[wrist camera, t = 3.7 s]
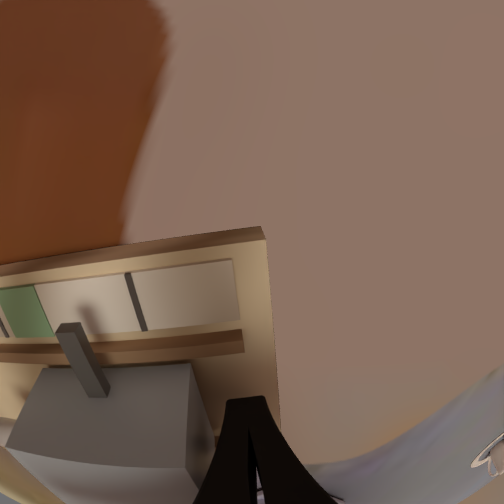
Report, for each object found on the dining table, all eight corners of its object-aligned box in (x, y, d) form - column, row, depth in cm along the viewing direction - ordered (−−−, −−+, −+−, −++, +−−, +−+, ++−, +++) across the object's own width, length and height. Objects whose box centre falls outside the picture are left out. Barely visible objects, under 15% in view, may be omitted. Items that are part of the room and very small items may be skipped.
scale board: (260, 226, 10) (315, 365, 4) (279, 444, 15) (300, 545, 9) (-84, 281, 9) (-149, 344, 3) (10, 437, 14) (-16, 505, 8)
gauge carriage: (172, 295, 9) (150, 403, 5) (214, 436, 12) (218, 519, 8) (-33, 313, 8) (-86, 375, 5) (40, 430, 11) (18, 492, 7)
